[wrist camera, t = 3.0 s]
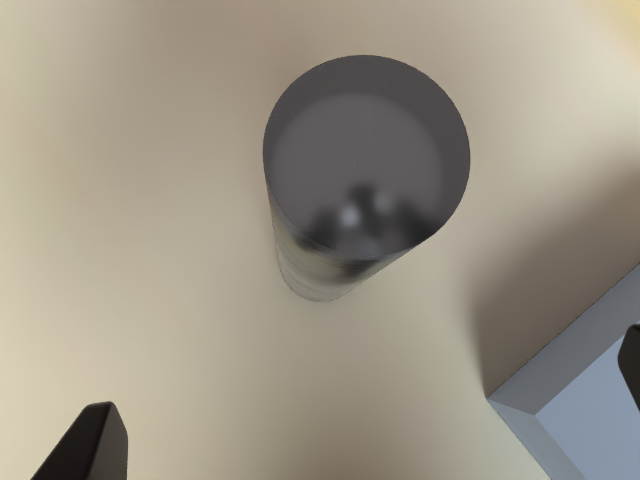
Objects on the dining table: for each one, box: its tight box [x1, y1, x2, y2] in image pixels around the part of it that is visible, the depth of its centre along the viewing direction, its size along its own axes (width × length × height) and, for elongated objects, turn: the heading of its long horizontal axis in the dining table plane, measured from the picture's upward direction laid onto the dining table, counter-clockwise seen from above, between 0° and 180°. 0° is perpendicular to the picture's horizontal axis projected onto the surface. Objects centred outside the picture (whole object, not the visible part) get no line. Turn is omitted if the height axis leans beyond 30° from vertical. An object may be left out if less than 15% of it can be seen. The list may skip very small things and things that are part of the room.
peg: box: [263, 55, 470, 302], centre depth 14 cm, size 3×3×12 cm
